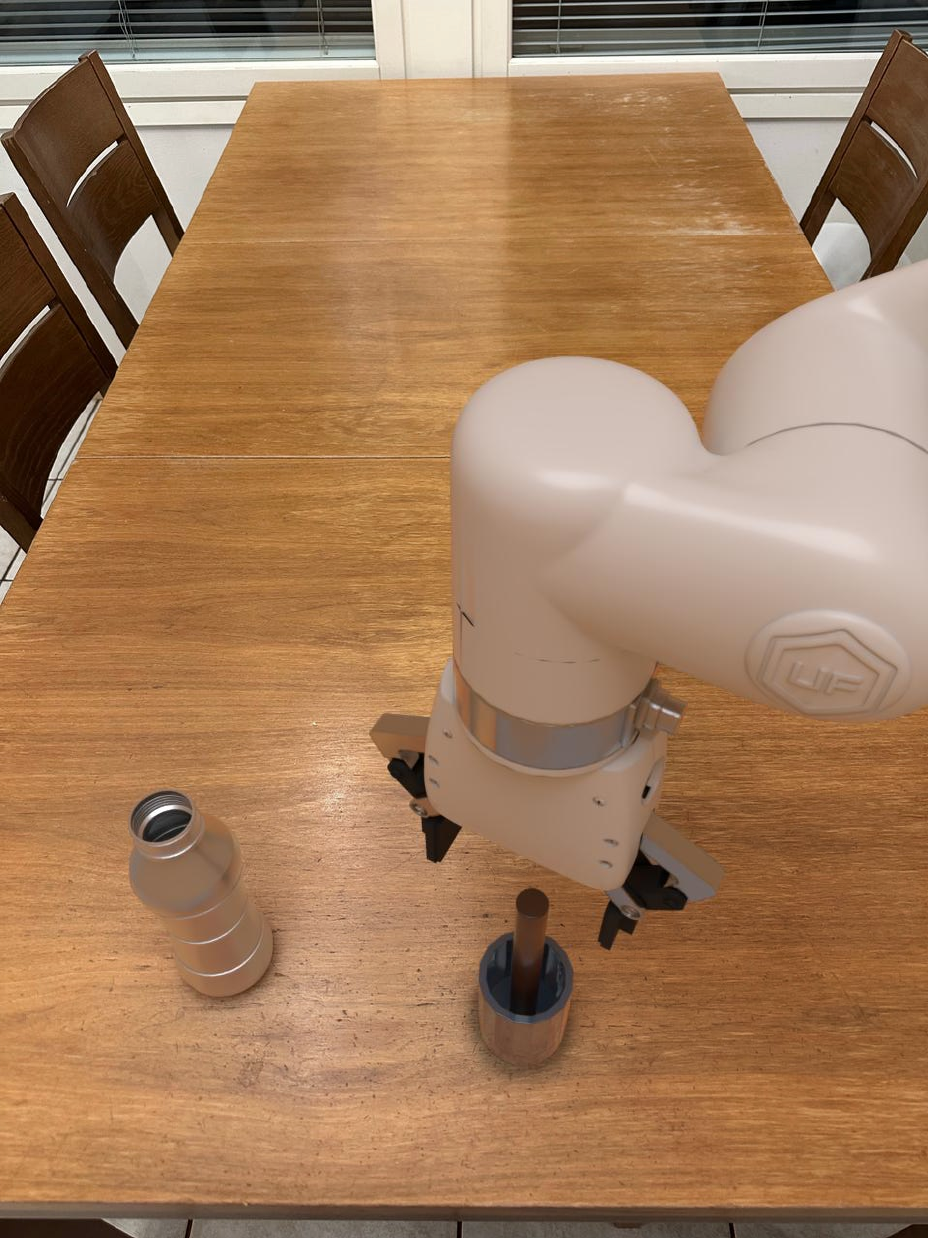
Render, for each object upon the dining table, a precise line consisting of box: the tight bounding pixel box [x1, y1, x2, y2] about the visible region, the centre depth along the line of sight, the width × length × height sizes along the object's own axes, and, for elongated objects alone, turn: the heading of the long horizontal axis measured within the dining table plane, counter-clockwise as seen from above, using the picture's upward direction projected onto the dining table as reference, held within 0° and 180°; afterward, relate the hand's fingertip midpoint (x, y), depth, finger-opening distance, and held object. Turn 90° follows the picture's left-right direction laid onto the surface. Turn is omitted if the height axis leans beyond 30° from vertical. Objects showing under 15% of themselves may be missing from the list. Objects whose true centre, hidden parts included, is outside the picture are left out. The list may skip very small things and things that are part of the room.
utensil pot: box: [477, 930, 574, 1067], centre depth 61 cm, size 6×6×8 cm
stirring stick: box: [509, 887, 550, 1016], centre depth 57 cm, size 2×2×16 cm
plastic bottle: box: [127, 788, 274, 998], centre depth 60 cm, size 6×7×20 cm
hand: (528, 880), depth 49 cm, fingers open, 9 cm apart
